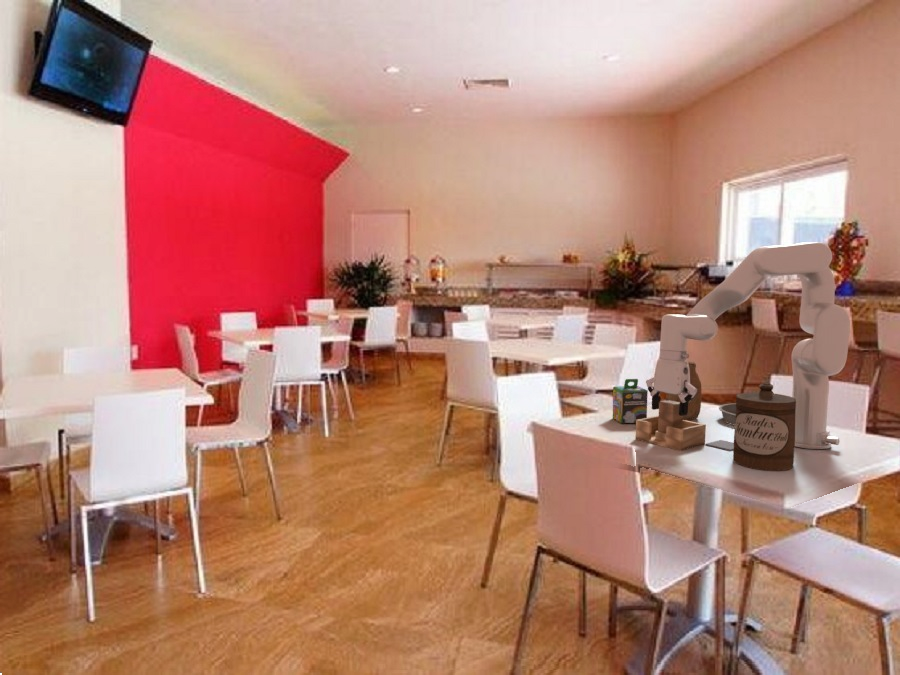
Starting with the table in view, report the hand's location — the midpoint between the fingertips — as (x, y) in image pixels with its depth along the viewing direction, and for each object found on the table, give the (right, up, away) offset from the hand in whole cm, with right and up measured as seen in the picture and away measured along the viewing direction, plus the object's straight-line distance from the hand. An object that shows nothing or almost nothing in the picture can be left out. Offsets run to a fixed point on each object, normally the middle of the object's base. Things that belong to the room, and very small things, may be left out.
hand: (669, 412), depth 205 cm
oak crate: (0, -9, +1) cm, 9 cm away
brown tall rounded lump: (+16, -6, +33) cm, 37 cm away
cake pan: (+39, -7, +28) cm, 49 cm away
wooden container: (+18, -12, -21) cm, 30 cm away
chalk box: (-4, -6, +29) cm, 30 cm away
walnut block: (0, -6, +1) cm, 6 cm away
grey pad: (+16, -10, -4) cm, 19 cm away
